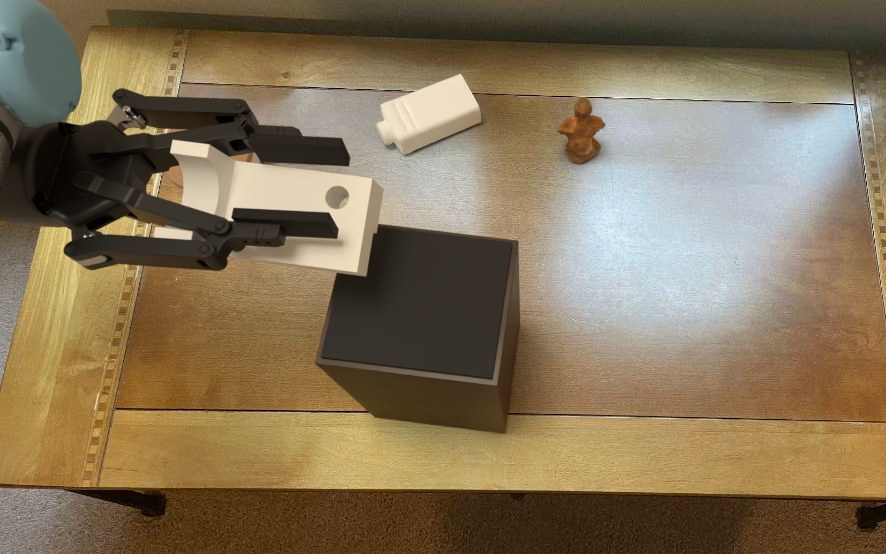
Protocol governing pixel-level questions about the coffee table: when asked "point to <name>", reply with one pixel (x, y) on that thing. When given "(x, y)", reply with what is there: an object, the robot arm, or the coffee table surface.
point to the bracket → (281, 206)
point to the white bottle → (428, 114)
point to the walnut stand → (438, 374)
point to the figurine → (581, 132)
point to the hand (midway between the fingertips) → (338, 188)
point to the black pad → (422, 304)
